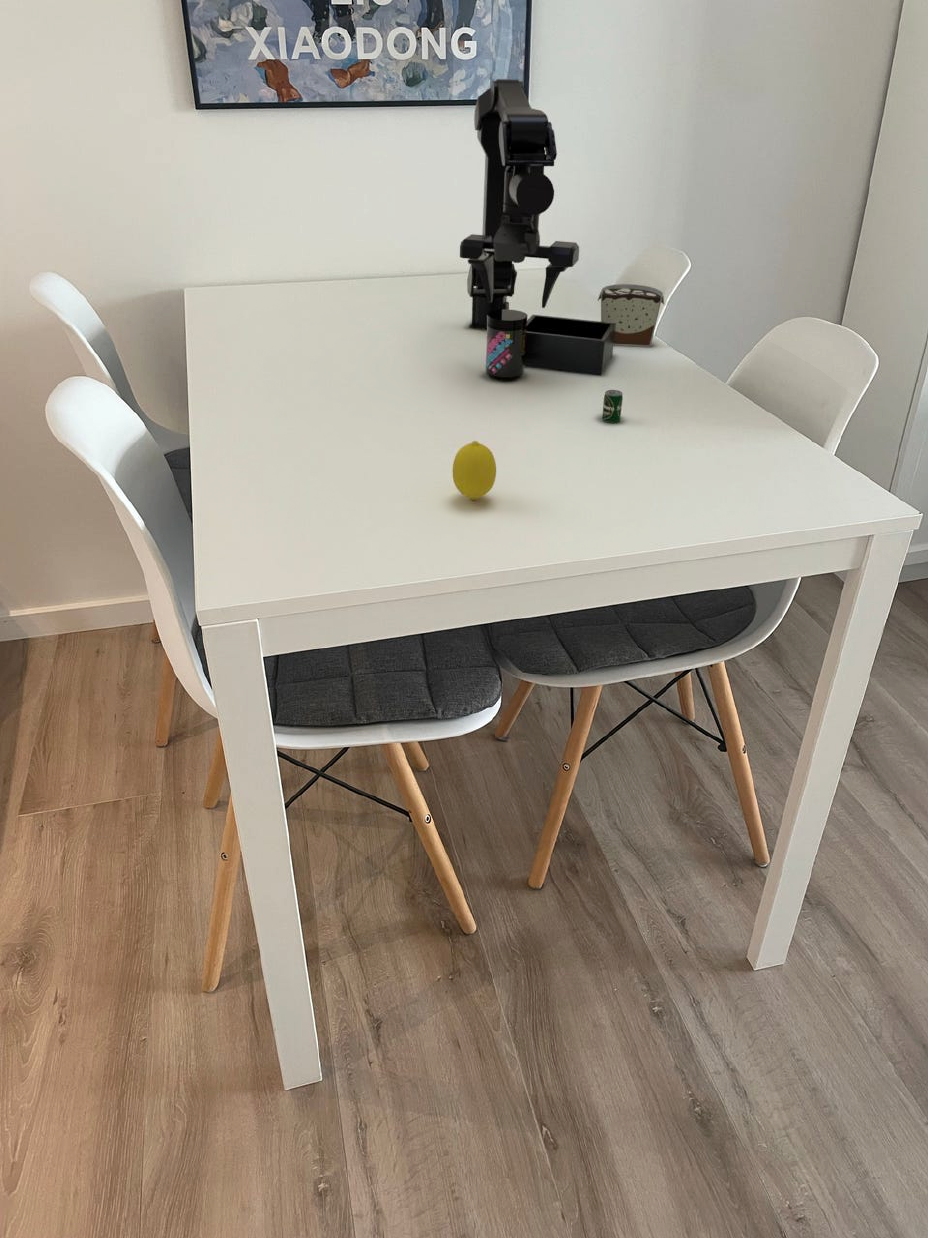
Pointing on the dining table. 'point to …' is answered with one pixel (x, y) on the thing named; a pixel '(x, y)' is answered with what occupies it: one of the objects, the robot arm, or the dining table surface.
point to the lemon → (474, 470)
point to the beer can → (612, 406)
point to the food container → (631, 312)
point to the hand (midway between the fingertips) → (516, 304)
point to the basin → (568, 344)
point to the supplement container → (506, 344)
